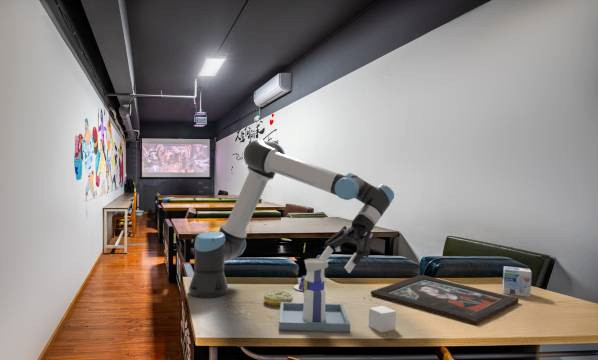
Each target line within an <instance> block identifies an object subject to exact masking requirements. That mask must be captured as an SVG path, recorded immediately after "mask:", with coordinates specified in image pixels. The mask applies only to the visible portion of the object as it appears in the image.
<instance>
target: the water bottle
mask: <svg viewBox="0 0 598 360" xmlns="http://www.w3.org/2000/svg"><path fill="white" fill-rule="evenodd" d="M305 252H306V243H304V246H303V253H305ZM303 262H304V266H305V269H306V275H305V276H306V277H305V279H304V289H305V291H303V292H304V293H303V303H304V305H303V317H302V318H303V320H305V321H307V322H323V321H325V319H326V317H325V303H326V290H325V282H326V280H327V278H326V276H325V271H326V270H325V269H328V267H329V262H328V259H327V260H324V259H319V258H307V259H304V260H303Z"/></svg>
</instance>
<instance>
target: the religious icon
mask: <svg viewBox="0 0 598 360" xmlns="http://www.w3.org/2000/svg"><path fill="white" fill-rule="evenodd" d="M370 295H372V296H373V297H377V298H379V299H381V300H386V301H389V302H394V303H397V304H400V305H404V306H407V307H411V308H413V309H417V310H422V311H425V312H428V313H431V314H436V315H439V316H443V317H447V318H449V319H454V320H457V321H460V322H464V323H468V324H471V325H475V326H476V325H480V324H481V323H483V322H485V321H487V320H489V319H490V318H493V317H495V316H496V315H498V314H499V313H502V312H504V311H506V310H508V309H510V308H512V307H513V306H515V305H518V303H519V298H518V297H514V296H511V295H506V294H501V293H497V292H493V291H490V290H489V291H488V290H484V289H481V288H475V287H472V286H469V285H463V284H461V283H456V282H451V281H448V280H443V279H440V278H436V277H431V276H427V275H424V274H423V275H422V274H419V275H416V276H413V277H410V278H407V279H404V280H401V281H399V282H395V283H391V284H389V285H386V286H384V287H379V288H376V289H373V290H371V291H370Z"/></svg>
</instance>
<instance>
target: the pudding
mask: <svg viewBox="0 0 598 360" xmlns="http://www.w3.org/2000/svg"><path fill="white" fill-rule="evenodd" d="M305 277H306V275H302V276H301V278H300V280H299V281H300V283H299V284H295V285H293V288H294V289H295V290H296V291H297V290H298V291H301V292H304V291H305V289H304V279H305Z"/></svg>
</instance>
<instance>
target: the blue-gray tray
mask: <svg viewBox="0 0 598 360" xmlns="http://www.w3.org/2000/svg"><path fill="white" fill-rule="evenodd" d="M303 305H304V302H293V301H291V302H281V305H280V306H279V320H278V331H281V332H312V333H315V332H316V333H317V332H319V333H346V334H347V333H348V334H349V333H351V322H350V319H349V318H348V314H347V312H346V310H345V307H344V304H343V303H326V302H325V317H326V319H325V321H323V322H307V321H305V320H303V318H302V317H303Z"/></svg>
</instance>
